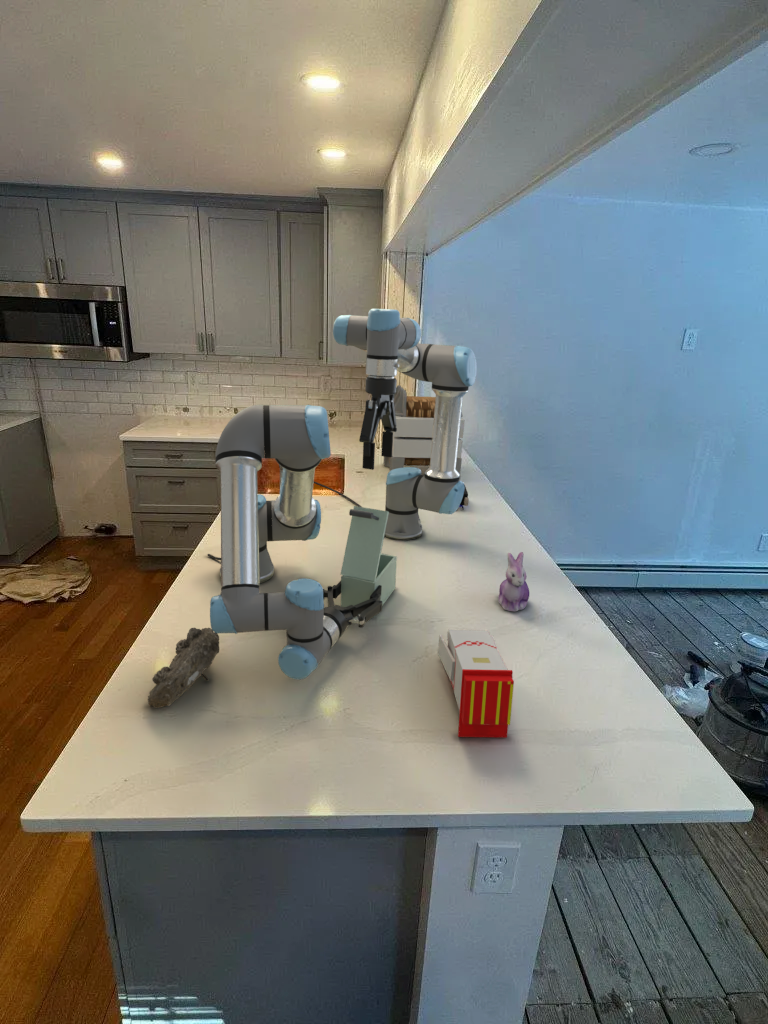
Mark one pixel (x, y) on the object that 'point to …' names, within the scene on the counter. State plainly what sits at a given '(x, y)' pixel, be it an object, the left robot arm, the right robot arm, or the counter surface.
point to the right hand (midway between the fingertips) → (377, 462)
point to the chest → (370, 583)
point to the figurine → (514, 585)
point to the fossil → (184, 666)
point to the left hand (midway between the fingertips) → (362, 586)
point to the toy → (478, 682)
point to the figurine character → (464, 499)
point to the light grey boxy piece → (415, 432)
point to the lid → (364, 543)
